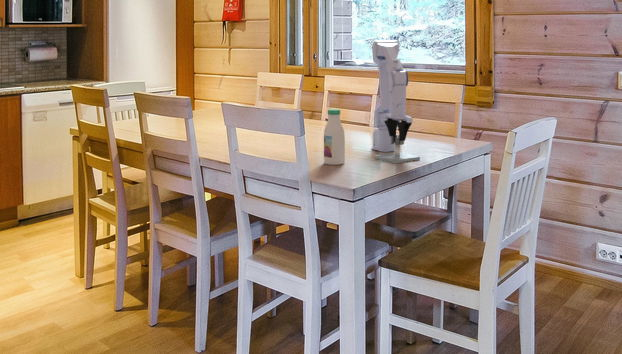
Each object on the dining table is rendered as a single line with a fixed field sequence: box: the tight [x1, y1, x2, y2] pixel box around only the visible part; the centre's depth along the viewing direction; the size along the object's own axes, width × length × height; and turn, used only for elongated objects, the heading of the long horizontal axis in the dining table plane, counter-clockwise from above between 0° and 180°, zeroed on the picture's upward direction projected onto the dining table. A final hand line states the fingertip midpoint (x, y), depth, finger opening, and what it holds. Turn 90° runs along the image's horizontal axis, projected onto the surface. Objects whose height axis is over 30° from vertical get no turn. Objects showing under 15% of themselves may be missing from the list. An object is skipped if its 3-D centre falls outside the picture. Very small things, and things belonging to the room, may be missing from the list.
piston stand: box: [374, 145, 421, 164], centre depth 244 cm, size 12×12×5 cm
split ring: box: [390, 134, 405, 146], centre depth 243 cm, size 5×5×3 cm
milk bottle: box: [323, 108, 346, 166], centre depth 237 cm, size 8×8×20 cm
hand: (397, 139), depth 243 cm, fingers closed on split ring, 5 cm apart
